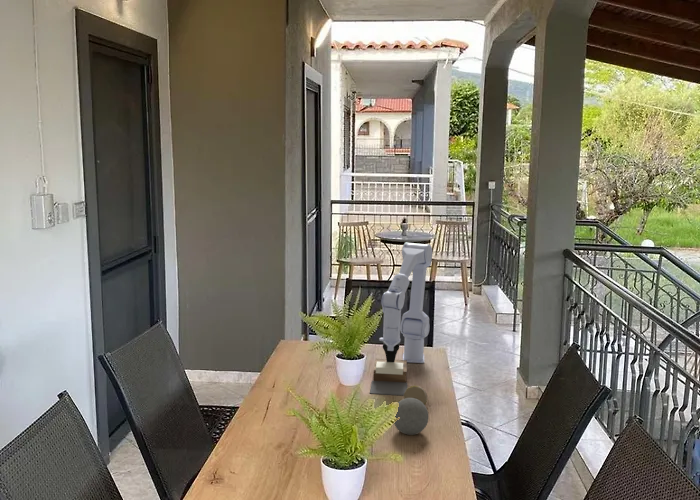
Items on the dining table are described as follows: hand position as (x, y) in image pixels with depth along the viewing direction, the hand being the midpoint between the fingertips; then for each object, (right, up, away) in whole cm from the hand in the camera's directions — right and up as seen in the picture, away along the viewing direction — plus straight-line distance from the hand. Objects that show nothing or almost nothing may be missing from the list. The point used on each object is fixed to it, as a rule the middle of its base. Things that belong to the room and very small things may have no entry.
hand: (390, 364), depth 224 cm
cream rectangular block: (-1, -1, -4) cm, 4 cm away
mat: (-1, -6, -9) cm, 11 cm away
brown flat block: (0, -4, +3) cm, 5 cm away
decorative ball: (+3, -12, -41) cm, 43 cm away
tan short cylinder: (+6, -9, -21) cm, 24 cm away
